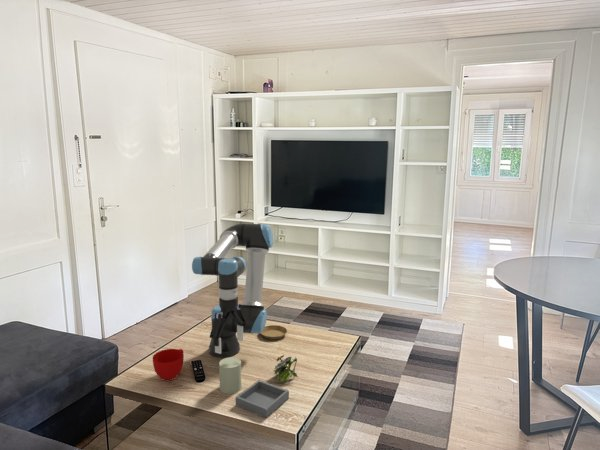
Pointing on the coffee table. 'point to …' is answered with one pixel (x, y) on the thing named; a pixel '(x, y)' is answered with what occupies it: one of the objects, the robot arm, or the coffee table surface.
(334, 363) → the coffee table surface
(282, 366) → the passion flower
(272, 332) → the plant saucer
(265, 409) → the tray
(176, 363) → the red bowl
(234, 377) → the can
